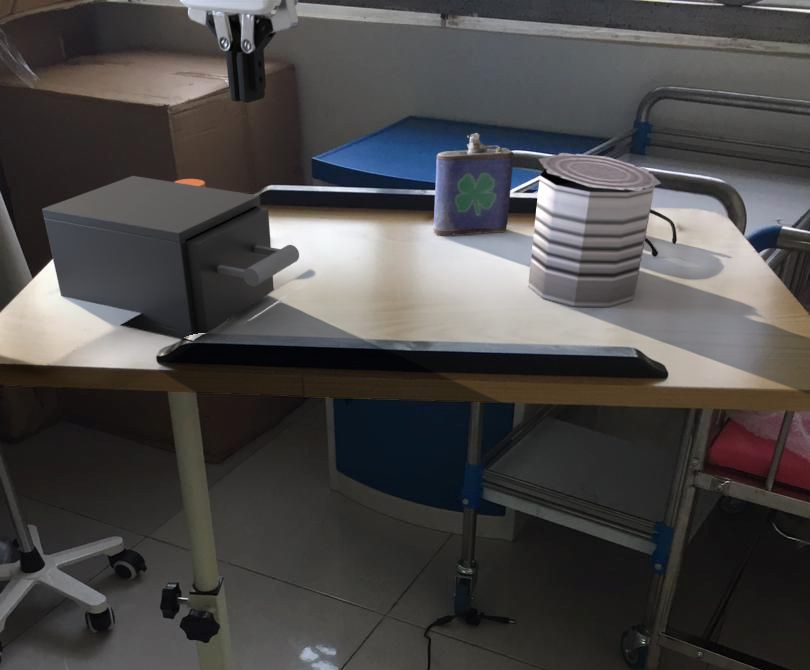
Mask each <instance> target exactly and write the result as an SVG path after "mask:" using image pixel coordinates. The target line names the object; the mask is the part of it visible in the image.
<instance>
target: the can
mask: <svg viewBox="0 0 810 670" xmlns="http://www.w3.org/2000/svg"><path fill="white" fill-rule="evenodd" d="M537 160H538V162H539V163H540V164H541V166H542V167H543V168H544V170H543V171H542V172H541V173H540V175H539V181H538V191H537V201H536V210H535V219H534V228H533V236H532V247H531V256H530V264H529V265H530V266H529V275H528V284H527V287H528V288H529V289H530V290H532V291H533V292H534V293H535V294H537V296H538V297H540V298H541V299H543V300H548V301H549V302H550V301H551V302H554V303H559V304H562V305H566V306H570V307H572V308H573V307H574V308H611V307H615V306H618V305H621V304H625V303H628V302H631V301H633V300H634V297H635V293H636V290H637V286H638V280H639V274H640V270H641V264H642V263H641V262H642V258H643V252H644V248H645V247H644V246H645V243H646V242H645V238H646V235H647V230H648V226H649V225H648V224H649V220H650V214H651V213H650V209H651V210H652V203H653V196H654V191H655V186H658V185H660V184H662V182H661V181H660V180H659V179H658V178H657V177H656V176H655V175H654V174H653V173H652V172H650V170H649V169H648V168H645V167H642V166H638V165H636V164H632V163H628V162H626V161H622V160H618V159H616V158H612V157H610V156H605V155H604V156H602V155H591V154H582V153H581V154H580V153H569V152H560V153H556V154H552V155H548V156H544V157H541V158H538V159H537Z"/></svg>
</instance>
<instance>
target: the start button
mask: <svg viewBox="0 0 810 670" xmlns="http://www.w3.org/2000/svg"><path fill="white" fill-rule="evenodd" d="M174 182H175V183H182V184H188V185H195V186H201V187H206V182H205V180H202V179H197V178H183V179H178V180H175V181H174Z"/></svg>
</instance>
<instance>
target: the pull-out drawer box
mask: <svg viewBox="0 0 810 670" xmlns="http://www.w3.org/2000/svg"><path fill="white" fill-rule="evenodd" d="M269 213H270V212H269V208H264V207H261V208H259V207H257V208H255V209H253V210H251V211H249V212H247V213H245V214H242V213H241V214H239V215H237V216H235V217H232V218H230V219H228V220H226V221H224V222H222V223H220V224H218V225H216V226H214V227H212V228H210V229H207V230H205V231H203V232H201V233H199V234H197V235H195V236H193V237H191V238H189V239H187V240H185V241H186V242H185V244H186V252H187V260H188V268H189V276H190V284H191V292H192V300H193V308H194V316H195V323H196V330H200V331H205V332H208V331H209V332H211V331H212V330H214V329H215V327H216V326H217V327H219V326H220V325H222V324H224V323H225V322H226V320H227V319H228V320H230V319H231V318H233V317H235V316H236V315H238V314H239V313H241V312H242V311H244V310H246V309H247V308H249V307H251V306H252V305H254V304H255V303H257V302H259V301H260V300H262V299H263V298H265V297H266V296H268V294H270V293H272V292H273V291H275V287H274V286H275V285H274V276H275V275H277V274H278V273H280V272H281V271H283V270H285V269H286V268H288V267H290V266H291V265H293V264H295V263H296V262H298V261H299V258H300V251H299V249H298V248H297V247H296V246H295V245H292V244H288V245H285V246H283V247H282V248H276V247H272V243H271V230H270V229H271V228H270V214H269ZM265 295H266V296H265ZM264 296H265V297H264ZM262 297H263V298H262ZM259 299H260V300H259ZM256 301H257V302H256ZM254 302H255V303H254ZM251 304H252V305H251ZM248 306H249V307H248ZM246 307H247V308H246ZM245 308H246V309H245ZM243 309H244V310H243ZM240 311H241V312H240ZM238 312H239V313H238ZM237 313H238V314H237ZM235 314H236V315H235ZM232 316H233V317H232ZM230 317H231V318H230ZM229 318H230V319H229ZM228 320H227V321H228ZM224 321H225V322H224ZM223 322H224V323H223ZM221 323H222V324H221ZM219 324H220V325H219ZM218 325H219V326H218ZM217 327H216V328H217ZM213 328H214V329H213ZM211 329H212V330H211ZM210 330H211V331H210ZM209 332H208V333H209Z"/></svg>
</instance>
